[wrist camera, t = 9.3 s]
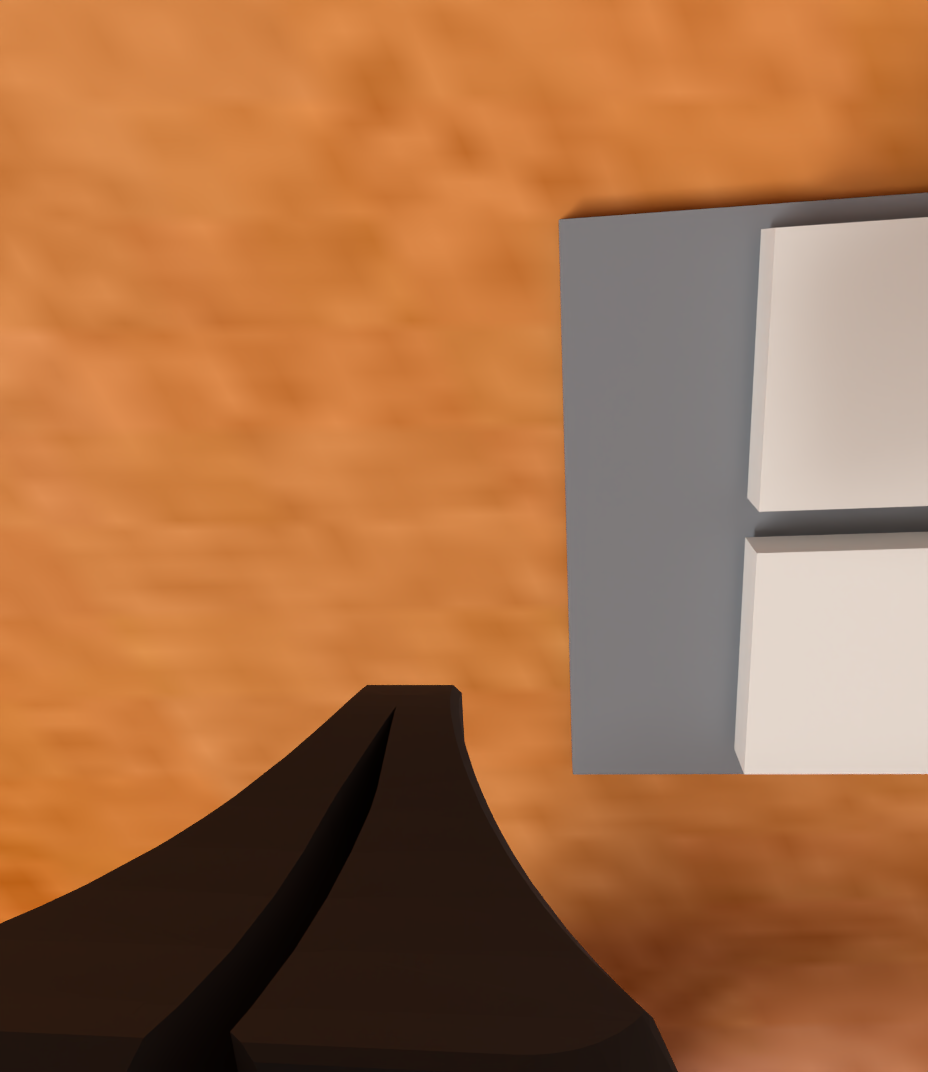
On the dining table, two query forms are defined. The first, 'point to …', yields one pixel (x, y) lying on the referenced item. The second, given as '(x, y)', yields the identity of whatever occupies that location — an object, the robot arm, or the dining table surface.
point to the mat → (671, 474)
